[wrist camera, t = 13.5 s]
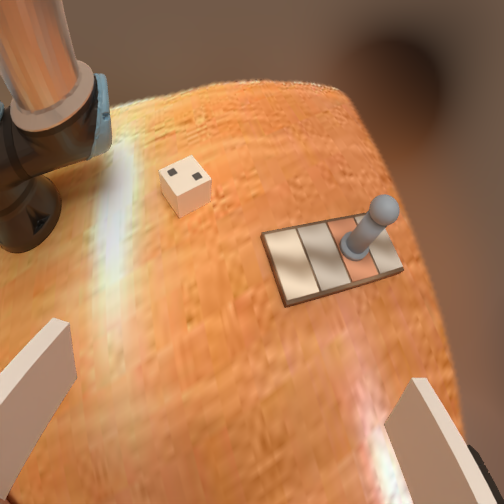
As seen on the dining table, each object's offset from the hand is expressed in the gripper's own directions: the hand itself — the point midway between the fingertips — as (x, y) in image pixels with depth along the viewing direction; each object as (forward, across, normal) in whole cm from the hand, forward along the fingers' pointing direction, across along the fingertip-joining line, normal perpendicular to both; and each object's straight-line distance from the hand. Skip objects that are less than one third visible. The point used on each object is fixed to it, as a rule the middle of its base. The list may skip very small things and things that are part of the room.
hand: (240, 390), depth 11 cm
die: (+44, -11, -2) cm, 46 cm away
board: (+40, +15, -6) cm, 43 cm away
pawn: (+40, +18, -4) cm, 43 cm away
